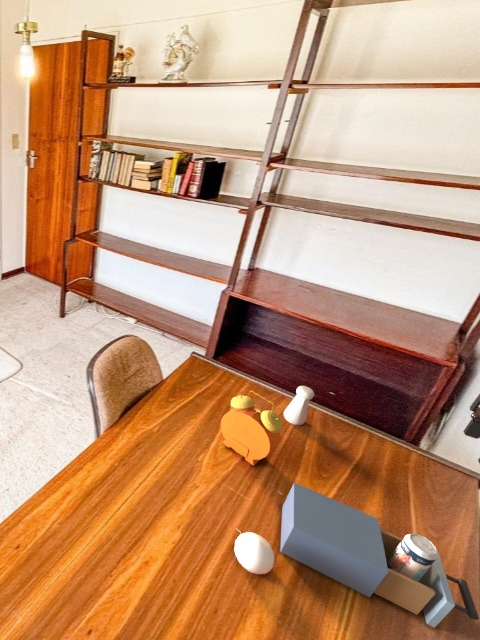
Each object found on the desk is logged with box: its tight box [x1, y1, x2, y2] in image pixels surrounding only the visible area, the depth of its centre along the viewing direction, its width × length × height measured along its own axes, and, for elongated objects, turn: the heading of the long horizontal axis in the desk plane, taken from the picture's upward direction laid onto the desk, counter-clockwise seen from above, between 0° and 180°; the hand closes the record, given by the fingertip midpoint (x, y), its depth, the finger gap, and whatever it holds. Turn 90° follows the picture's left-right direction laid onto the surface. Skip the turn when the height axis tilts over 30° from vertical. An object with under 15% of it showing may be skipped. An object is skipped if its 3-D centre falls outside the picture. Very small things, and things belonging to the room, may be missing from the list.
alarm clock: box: [220, 390, 284, 466], centre depth 107 cm, size 13×6×20 cm, turn 34°
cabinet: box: [279, 482, 388, 598], centre depth 86 cm, size 16×13×10 cm
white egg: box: [233, 529, 275, 575], centre depth 84 cm, size 10×7×7 cm
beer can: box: [387, 533, 438, 582], centre depth 78 cm, size 5×5×12 cm
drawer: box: [373, 528, 480, 629], centre depth 80 cm, size 19×11×8 cm, turn 57°
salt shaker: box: [283, 385, 315, 426], centre depth 120 cm, size 6×6×13 cm
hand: (477, 449), depth 77 cm, fingers open, 8 cm apart
